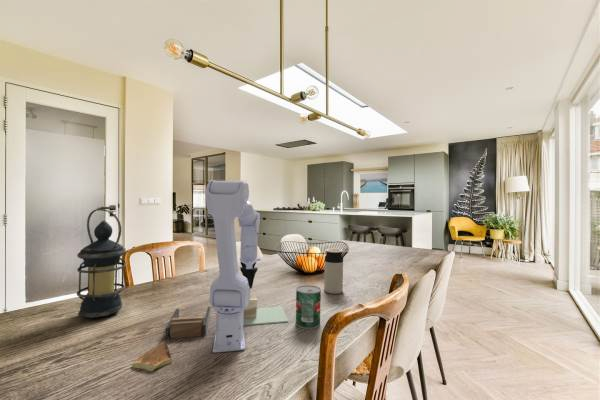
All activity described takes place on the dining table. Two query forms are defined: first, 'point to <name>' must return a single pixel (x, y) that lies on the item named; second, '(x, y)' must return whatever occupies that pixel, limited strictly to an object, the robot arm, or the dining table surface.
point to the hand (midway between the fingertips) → (248, 284)
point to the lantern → (101, 272)
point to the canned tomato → (308, 306)
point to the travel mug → (333, 271)
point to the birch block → (251, 308)
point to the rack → (176, 315)
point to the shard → (154, 358)
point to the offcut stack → (186, 326)
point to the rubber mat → (267, 316)
